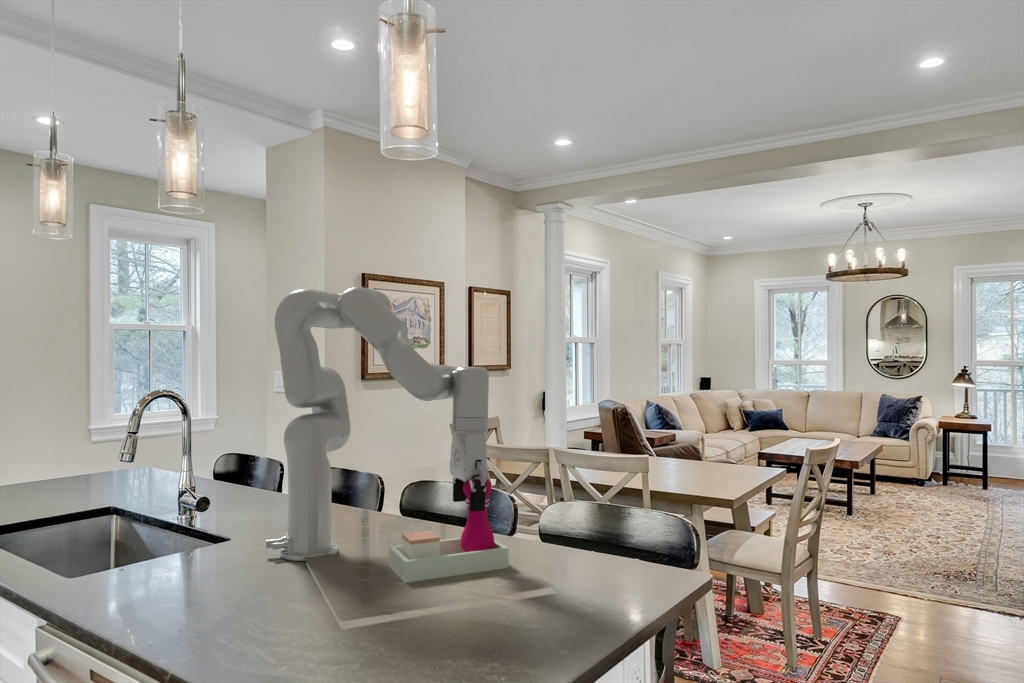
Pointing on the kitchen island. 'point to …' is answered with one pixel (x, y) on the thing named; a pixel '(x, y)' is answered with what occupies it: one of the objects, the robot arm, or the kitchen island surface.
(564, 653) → the kitchen island surface
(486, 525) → the pepper mill
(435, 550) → the box
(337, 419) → the robot arm
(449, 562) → the tray
